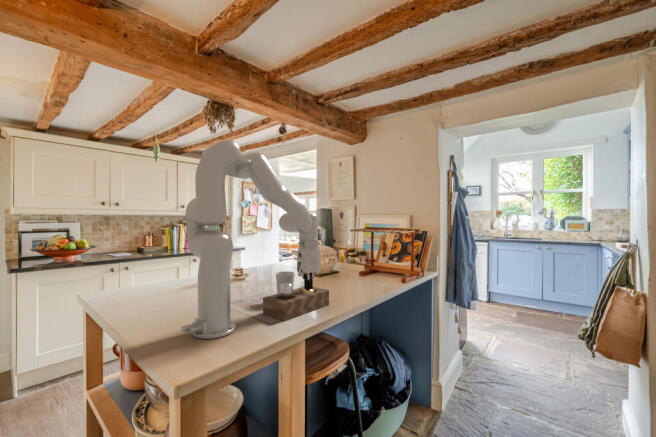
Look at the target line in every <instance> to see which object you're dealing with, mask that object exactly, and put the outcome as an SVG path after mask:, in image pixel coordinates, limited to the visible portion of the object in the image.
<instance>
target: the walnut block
mask: <svg viewBox="0 0 656 437" xmlns="http://www.w3.org/2000/svg"><path fill="white" fill-rule="evenodd" d="M303 289H304V286H301V287H298V288H293V290H292V299H288V300H283V299H280V293H278V294H277V293H276V294H270V295H268V296H264V297H262V314H263V315H265V314H266V316H268V315H269V316H268V317H271V316H272V318H274V317H275V318H274V319H277V318H278V319H277V320H280V319H281V320H280V321H283V322H287V321H289V320H292V319H295V318H297V317H300V316H303V315H306V314H309V313H312V312H314V311H316V310H319V309H322V308H324V307H327V306H329V305H330V289H326V288H320V287H316V286H315V287H314V286H313V289H314V292H312V293H309V294H308V293H304V292H303Z"/></svg>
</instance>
